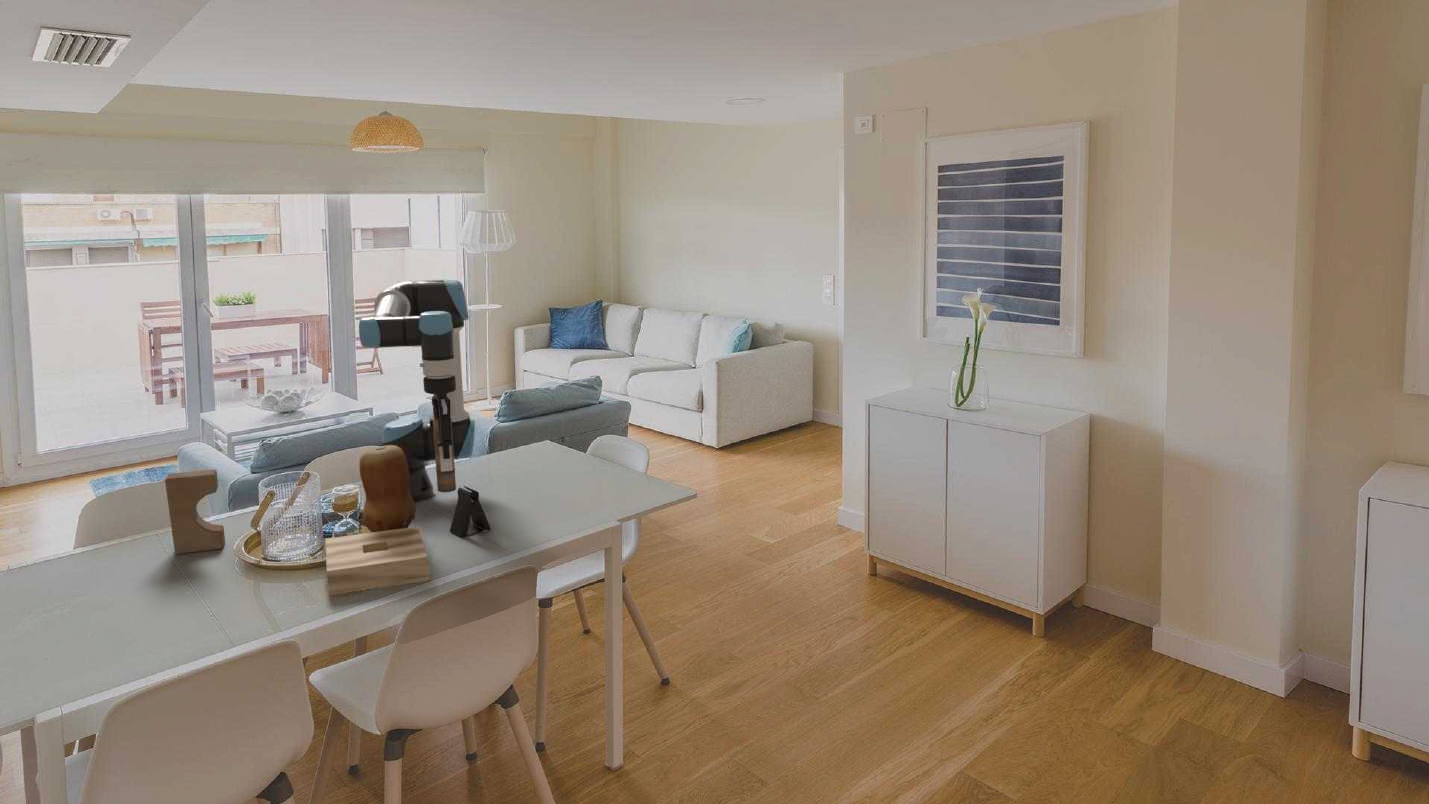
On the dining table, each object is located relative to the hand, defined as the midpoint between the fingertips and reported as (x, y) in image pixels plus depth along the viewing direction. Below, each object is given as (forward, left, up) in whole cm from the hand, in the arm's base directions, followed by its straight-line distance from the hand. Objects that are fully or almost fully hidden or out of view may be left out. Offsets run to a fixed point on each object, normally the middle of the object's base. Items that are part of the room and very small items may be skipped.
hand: (445, 467), depth 232 cm
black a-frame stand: (-15, +7, -23) cm, 28 cm away
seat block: (+4, -18, -23) cm, 29 cm away
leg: (0, 0, -6) cm, 6 cm away
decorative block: (-29, -59, -23) cm, 69 cm away
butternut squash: (-18, -13, -23) cm, 32 cm away
